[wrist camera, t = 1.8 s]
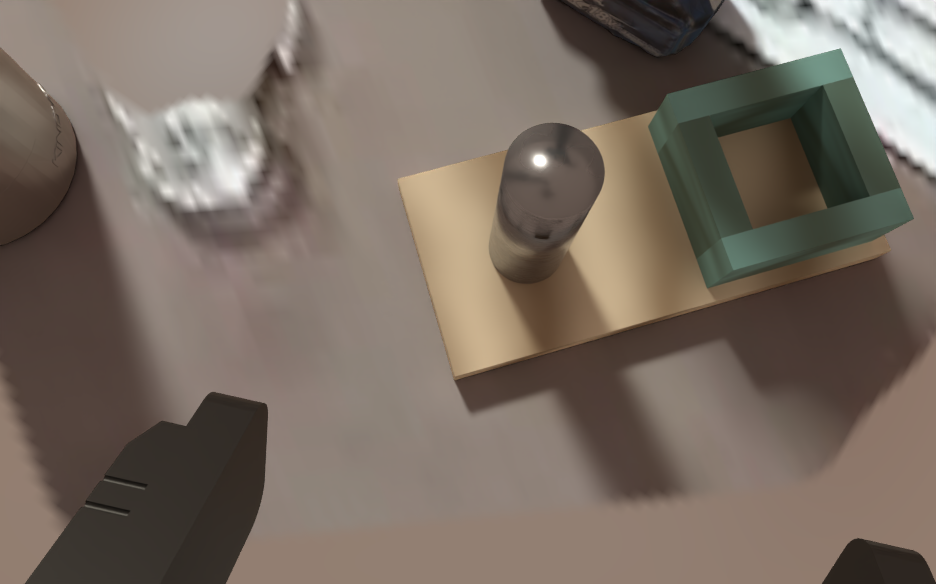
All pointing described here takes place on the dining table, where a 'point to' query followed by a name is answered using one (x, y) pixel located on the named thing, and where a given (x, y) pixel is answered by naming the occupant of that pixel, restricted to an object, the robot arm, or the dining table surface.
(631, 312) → the board
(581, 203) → the dark grey metallic cylinder
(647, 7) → the impact wrench
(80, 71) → the dining table surface
